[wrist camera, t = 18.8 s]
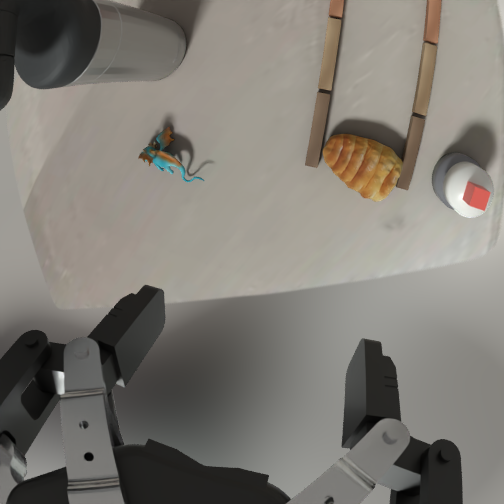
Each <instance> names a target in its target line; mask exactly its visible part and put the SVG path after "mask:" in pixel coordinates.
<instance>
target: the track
mask: <svg viewBox="0 0 504 504" xmlns="http://www.w3.org/2000/svg"><path fill="white" fill-rule="evenodd" d="M343 4H344V0H331V1H330V9H329V16H331V17H337V18H342V12H343ZM440 12H441V0H427V7H426V19H425V29H424V38H423V40H424V41H427V42H430V43H432V44H436V43H438V35H439V24H440ZM340 28H341V20H340V19H334V18H329V17H328V24H327V31H326V38H325V46H324V52H323V59H322V66H321V72H320V79H319V85H318V88H320V89H325V90H330V91H331V88H332V82H333V76H334V69H335V63H336V56H337V49H338V42H339V35H340ZM436 52H437V46H434V45H431V44H428V43H426V42H425V43H423V46H422V54H421V61H420V68H419V75H418V81H417V87H416V93H415V98H414V104H413V109H412V112H415V113H418V114H421V115H424V116H426V113H427V108H428V103H429V97H430V92H431V86H432V80H433V73H434V67H435V60H436ZM329 100H330V94H325V93H320V92H317V98H316V104H315V110H314V116H313V122H312V128H311V134H310V140H309V146H308V151H307V157H306V163H305V165H306V166H311V167H316V168H317V167H318V162H319V157H320V151H321V146H322V141H323V135H324V129H325V124H326V118H327V112H328V106H329ZM424 123H425V120H424V119H421V118H418V117H415V116H411V119H410V124H409V129H408V133H407V138H406V142H405V147H404V151H403V155H402V159H401V160H402V162H403V166H402V171H401V174H400V177H399V178H398V180H397V184H396V187H398V188H401V189H405V190H408V188H409V185H410V181H411V177H412V174H413V170H414V166H415V162H416V158H417V154H418V150H419V146H420V141H421V137H422V132H423V128H424Z"/></svg>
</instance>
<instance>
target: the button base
mask: <svg viewBox="0 0 504 504" xmlns="http://www.w3.org/2000/svg"><path fill="white" fill-rule="evenodd" d="M459 162H470V163H473V164H475V165H476V166H478V167H480V165H479V164H478V163H477V162H476V161H475V160H474V159H472V158H470V157H468V156H467V155H465V154H462V153H457V152H455V153H449V154H447V155H445V156H443V157H442V158H441V159H440V160H439V161H438V162H437V164H436V165H435V167H434V170H433V174H432V185H433V189H434V191H435V193H436V195H437V196H438V198H439V199H440V200H441V201H442V202H443V203H444V204H445V205H446V206H447V207H449V208H451V209H453V210H455V209H454V208H453V207H452V206H451V205H450V204H449V203H448V202H447V200H446V198H445V196H444V192H443V182H444V178H445V175H446V173H447V172H448V170H449V169H450V168H451V167H452V166H453V165H455V164H457V163H459ZM480 168H481V167H480Z"/></svg>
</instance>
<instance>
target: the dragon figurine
mask: <svg viewBox="0 0 504 504" xmlns="http://www.w3.org/2000/svg"><path fill="white" fill-rule="evenodd" d="M172 133H173V132H171V131H170V127H168V128H167V129H165V130H164V131H162V132H161V133H160V134H159V135H158V137H157V138H156V140H157V141H158V142H159V143H160V150H156V148H157V144H156V143H155V142H153V144H152V143H149V146H148V147H146V148H145V149H143V152H142V153H141V154H140V156H139V158H142V159H143V161H144V162H145V161H148V162H149V166H150V163H151V162H152V163H154V164H155V165H156V167H157V168H158V169H160V170H161V171H164V170H163V169H164V168H165V169H166V170H167V171H168V172H170V173H171V174H173V172H174V171H172V170H171V169H170V166H174V167H176V168H178V169H179V170H180V171H181V172H182V179H183V180H184V181H186V182H191V181H193V180H194V179H200V180H203V179H202V178H200V177H194V178H193V179H191V180H189V181H188V180H186V179H185V178H184V175H185V168H184V166H183V165H182V164H181V163H180V162H179V161H178V160H177V159H176V158H175V157H173V155H171V154H170V153H168V152H163V151H162V150H163V149H164V148H165V147H166V146H169V143H170V142H171V141H173V140H174V139H172V138H170V134H172ZM139 158H138V159H139ZM161 167H164V168H161ZM203 181H204V180H203Z"/></svg>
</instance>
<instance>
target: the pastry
mask: <svg viewBox="0 0 504 504" xmlns="http://www.w3.org/2000/svg"><path fill="white" fill-rule="evenodd" d="M323 156H324V160H325V163H326V164H327V165H328V166H329V167H330V168H331V169H332V171H333V173H335V175H336V176H338V177H339V178H340V179H341V180H342V181H343V182H345V184H346V185H347V187H348V188H351V189H354V190H355V191H357V192H359V193H360V194H361V196H362V197H364V198H369V199H372V200H373V201H375V202H379V201H382V200H383V199H384V198H386V197H387V196H388V195H389V193H390V192H391V191H392V189H393V188H394V187H395V185H396V184H397V180H398V178H399V177H400V174H401V171H402V166H403V162H402V160H401V159H400V158H399V157H398V156H397V155H396V154H395V152H394V151H393V150H392V149H391V148H390V147H387V146H385V145H383V144H381V143H378V142H377V141H375V140H372V139H367V138H363V137H359V136H355V135H351V134H337V135H333V136H331V137H330V138H329V139H328V141H327V142H326V145H325V147H324V148H323Z"/></svg>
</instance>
